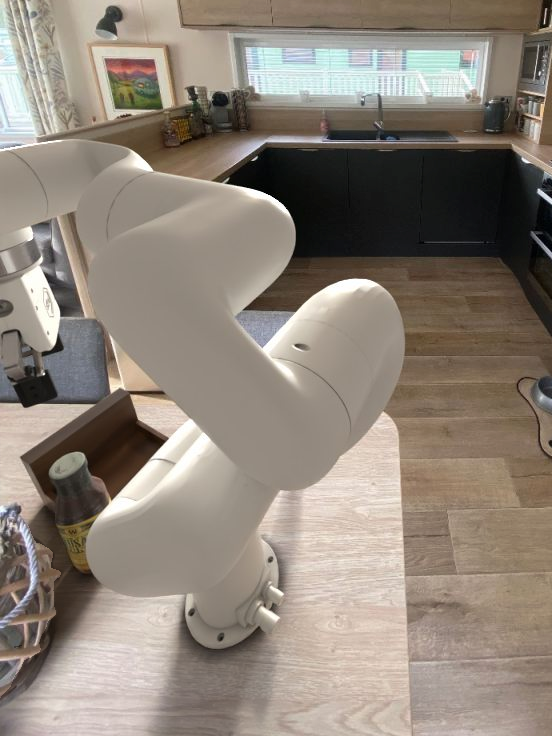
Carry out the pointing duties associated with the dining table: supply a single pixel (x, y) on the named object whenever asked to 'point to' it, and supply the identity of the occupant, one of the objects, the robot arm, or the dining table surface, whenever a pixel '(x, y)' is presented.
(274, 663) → the dining table surface
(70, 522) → the sauce bottle
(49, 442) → the brown wooden box
